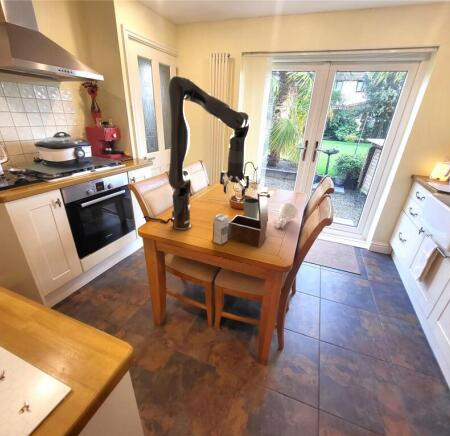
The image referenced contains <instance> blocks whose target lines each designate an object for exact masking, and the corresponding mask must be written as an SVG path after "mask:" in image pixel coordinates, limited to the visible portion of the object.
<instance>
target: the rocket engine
mask: <svg viewBox="0 0 450 436" xmlns="http://www.w3.org/2000/svg"><path fill="white" fill-rule="evenodd" d="M298 213H299V210H298V208H297V207H296V206H295V205H294V204H293V203H291V202H284V203H283V204H281V205H280V207H279V212H278V219H277V220H276V227H275V228H276V229H279V228H281V229H282V230H284V229H285V226H286V224H288V223H289V222H291V221H293V220H294V219H295V218H296V217H297V216H298Z"/></svg>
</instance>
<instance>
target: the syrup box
mask: <svg viewBox="0 0 450 436" xmlns="http://www.w3.org/2000/svg"><path fill="white" fill-rule="evenodd" d="M229 221H230V217H229V215H226V214H224V213H219V214H216V215H214V216H213V217H212V242H214V243H216V244H217V245H220V246H221V245H223V244H225V243H226V242H228V240H229V239H228V224H229Z"/></svg>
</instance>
